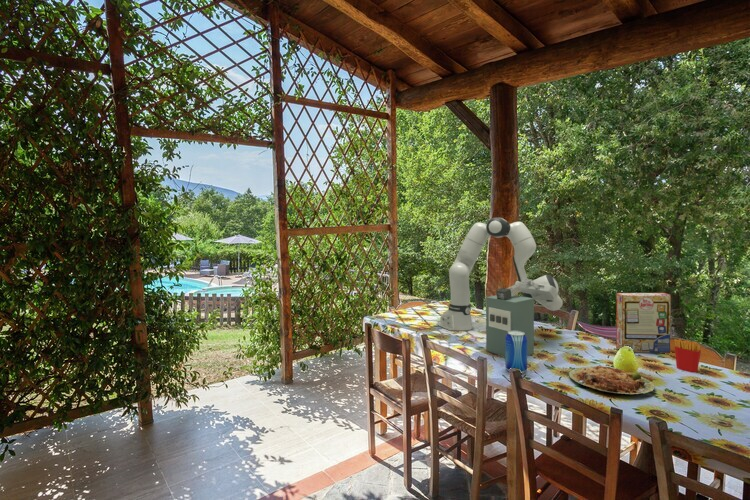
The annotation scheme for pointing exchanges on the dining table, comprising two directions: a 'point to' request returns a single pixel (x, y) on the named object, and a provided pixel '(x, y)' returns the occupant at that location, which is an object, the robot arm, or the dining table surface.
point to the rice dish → (611, 380)
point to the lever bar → (512, 289)
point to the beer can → (516, 351)
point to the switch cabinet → (508, 321)
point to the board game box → (643, 322)
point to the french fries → (687, 355)
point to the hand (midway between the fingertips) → (526, 282)
